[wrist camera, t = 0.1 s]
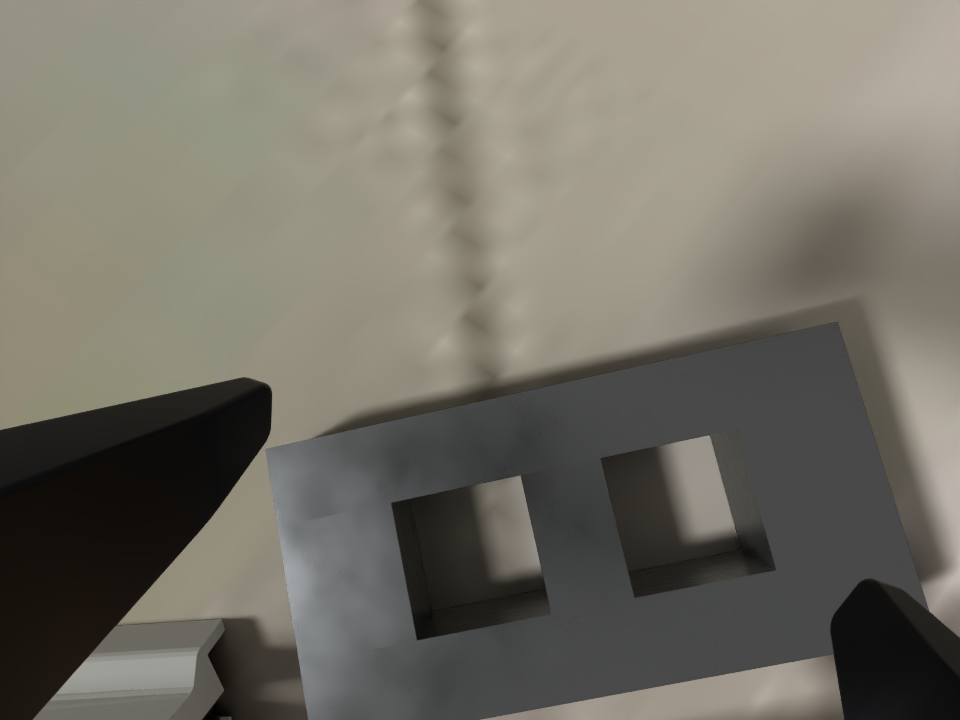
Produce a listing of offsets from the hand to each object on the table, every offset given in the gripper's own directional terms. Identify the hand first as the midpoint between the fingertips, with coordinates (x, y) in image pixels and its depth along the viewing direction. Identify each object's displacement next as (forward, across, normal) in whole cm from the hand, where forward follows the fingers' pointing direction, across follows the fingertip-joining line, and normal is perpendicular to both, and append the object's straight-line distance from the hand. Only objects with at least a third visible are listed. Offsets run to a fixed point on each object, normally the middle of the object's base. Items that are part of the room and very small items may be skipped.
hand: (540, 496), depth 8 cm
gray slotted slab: (+11, -2, +10) cm, 15 cm away
